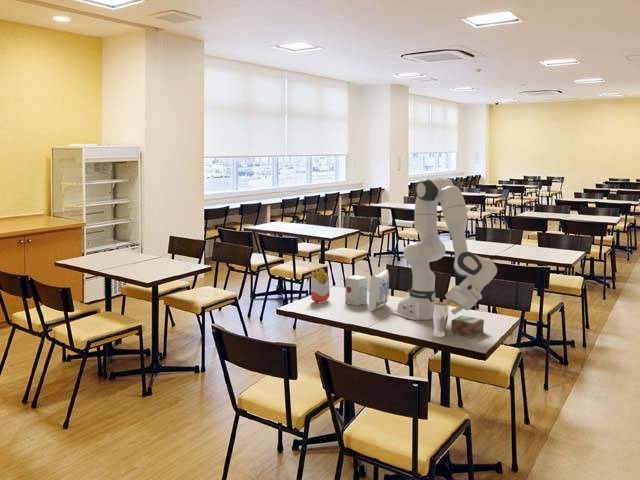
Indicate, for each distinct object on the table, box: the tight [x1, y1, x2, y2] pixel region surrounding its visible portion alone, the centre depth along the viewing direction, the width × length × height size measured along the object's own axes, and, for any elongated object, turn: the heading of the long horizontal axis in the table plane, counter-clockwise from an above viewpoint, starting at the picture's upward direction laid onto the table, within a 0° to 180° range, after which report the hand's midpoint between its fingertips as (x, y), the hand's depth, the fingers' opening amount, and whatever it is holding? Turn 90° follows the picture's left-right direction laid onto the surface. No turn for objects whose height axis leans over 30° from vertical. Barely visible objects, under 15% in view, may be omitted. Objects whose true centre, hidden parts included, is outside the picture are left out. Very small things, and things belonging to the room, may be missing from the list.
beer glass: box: [432, 301, 449, 339], centre depth 262 cm, size 7×7×15 cm
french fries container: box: [310, 268, 330, 303], centre depth 322 cm, size 5×11×18 cm, turn 139°
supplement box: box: [344, 274, 369, 306], centre depth 319 cm, size 9×9×15 cm
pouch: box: [368, 268, 390, 312], centre depth 310 cm, size 8×19×20 cm, turn 146°
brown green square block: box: [450, 315, 485, 338], centre depth 268 cm, size 11×11×6 cm
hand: (448, 310), depth 262 cm, fingers open, 8 cm apart
